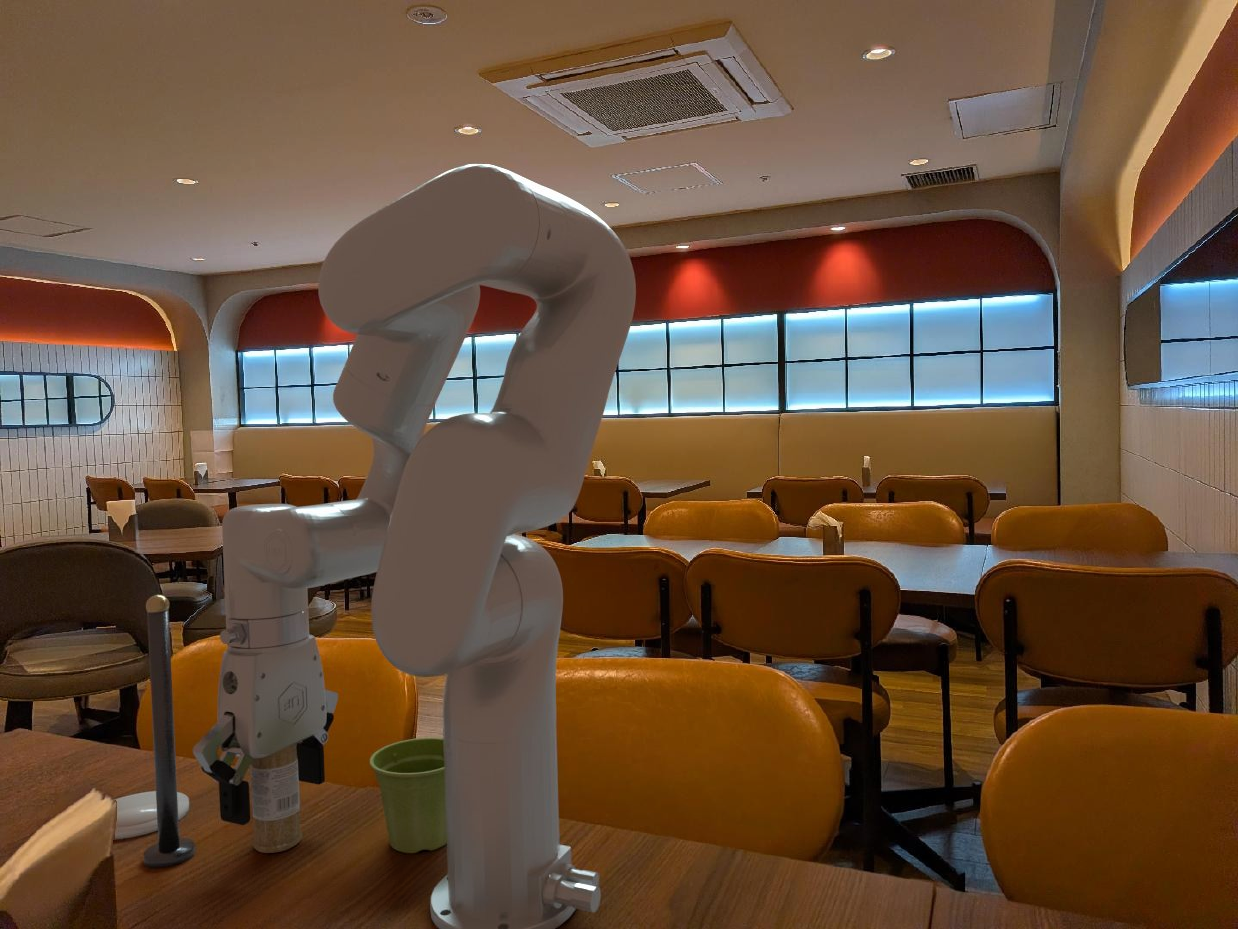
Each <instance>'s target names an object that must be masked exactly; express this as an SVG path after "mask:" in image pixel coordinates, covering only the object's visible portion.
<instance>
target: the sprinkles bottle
mask: <svg viewBox="0 0 1238 929" xmlns="http://www.w3.org/2000/svg"><path fill="white" fill-rule="evenodd" d="M296 746H297V744H294V745H291V746H289V747H287V748H285V749H283V750H280V751H278V752H276V753H274V754H271V755H269V756H267V757H264V758H253V760H252V762H251V764H250V766H249V768H250V783H251V784H250V788H251V789H250V790H251V791H250V792H251V810H252V818H253V819H252V820H253V838H254V840H253V843H252V844H253V848H254V849H255V851H258V853H263V854H270V853H271V854H274V853H279V852H281V853H282V852H284V851H287V850H289V849H292V848H293V847H294V846H296V845H298V843H300V842H301V839H302V837H303V835H302V831H301V826H300V824H301V823H300V822H301V821H300V807H301V806H300V805H301V804H300V802H301V801H300V781H299V776H298V759H297V750H296Z"/></svg>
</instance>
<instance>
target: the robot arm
mask: <svg viewBox="0 0 1238 929" xmlns="http://www.w3.org/2000/svg"><path fill="white" fill-rule="evenodd" d="M320 268H321V269H320V272H319V276H318V287H317V289H318V298H319V302H320V305H321V308H322V310H323V313H324V314H325V316H326V317H327V318H328V320H329V322H331V323H332V324H333V325H334V326H336V327H337V328H338V329H340V330H342V331H344V332H348V333H350V334H352V335H356V337H355V340H354V342H353V344H352V347H351V349H350V352H349V353H348V357H347V358H346V361H345V363H344V366H343V368H342V371H341V373H340V376H339V378H338V380H337V383H336V385H335V387H334V390H333V395H332V401H333V404H334V407H335V409H336V412H338V413H339V414H340V416H341V417H342V418H343V419H345V421H346V422H348V424H350V425H352V426H353V427H354V428H356V429H357V430H359V431H361V432H362V433H364V434H365V435H367V436H370V437H371V440H372V444H373V445H372V446H373V457H372V461H371V465H370V468H369V471H368V474H367V476H366V479H365V481H364V483H363V485H362V487H361V490H360V492H359V493H358V496H357V498H356V499H351V500H350V499H349V500H342V501H335V502H328V503H318V504H312V505H311V504H310V505H305V506H304V505H303V506H296V505H293V504H289V503H261V504H258V503H257V504H249V505H242V506H237V507H234V508H231V509H229V510H228V511H227V512H226V513H225V514H224V516H223V518H222V522H221V524H222V525H221V529H222V530H221V531H222V532H221V534H222V553H223V555H222V556H223V561H222V562H223V581H224V602H225V605H224V606H225V626H226V628H225V629H224V630H222V631H220V634H219V639H220V642H221V643H222V644H223V645H226V647H227V648H226V650H224V651H223V653H222V658H221V664H220V671H219V679H218V687H217V690H218V693H217V710H216V711H217V717H216V718H217V722H216V723H215V724H214V726H213V727H211V729H210V730H208V731H207V733H206V734H205V735H204V736H203V737H202V738H201V739H199V741H198V742H196V744H195V745H194V746H193V748H192V753H193V755H194V757H195V759H196V760H197V762H198V763H199V765H200V766H201V770H202V772H203V773H205V774H206V775H208V776H209V777H210V778H211V780H212V781H213V782H218V793H219V813H220V816H219V817H220V818H221V821H223V822H228V823H231V824H235V825H240V826H245V825H246V824H248V823H250V821H251V803H250V799H251V798H250V784H249V783H250V782H249V781H247V780H244V778H245V777H246V774H247V772H248V769H249V768H250V764H251V762H252V760H253V758H264V757H267V756H269V755H271V754H274V753H276V752H278V751H280V750H283V749H285V748H287V747H289V746H291V745H294V744H296V750H297V759H298V776H299V782H304V783H308V784H313V785H321V784H323V783H325V782H326V781H325V779H326V776H325V755H324V754H325V752H324V751H325V750H324V749H325V748H324V745H325V744H327V742H328V740H329V733H328V732H329V730H330V727H331V725H332V724H333V722H334V719H335V715H334V713H335V710H336V706H337V704H338V699H339V694H338V693H337V692H334V691H332V690H328V689H326V686H325V678H324V672H323V665H322V664H323V663H322V659H321V655H320V651H319V647H318V644H317V639H316V638H315V636H314V635H312V634H310V624H309V623H310V622H309V620H310V619H309V597H308V595H309V594H308V592H309V591H308V589H310V588H311V589H312V588H317V587H321V586H325V585H329V584H333V583H337V582H339V581H344V580H345V581H346V580H348V579H352V578H358V577H360V576H366V575H371V574H374V573H376V574H375V579H374V584H373V588H372V594H371V606H370V613H371V614H370V616H371V626H372V631H373V634H374V638H375V641H376V643H377V646H378V648H379V650H380V651H381V654H382V655H383V656H384V659H386V660H387V661H388V663H389V664H390V665H392V666H393V667H394V668H396V669H397V670H398V671H400V672H402V673H404V674H406V675H410V676H414V677H419V678H434V677H439V676H444V675H446V677H445V682H444V688H443V690H444V691H443V699H442V726H443V727H442V736H443V737H442V738H443V745H444V774H445V803H446V833H447V843H446V853H447V854H446V856H447V857H446V860H447V874H446V875H445V876H444V877H443V878H442V879H441V880H440V881H438V882H437V884H436V885H435V887H433V890H432V892H431V895H430V898H429V899H430V900H429V905H430V906H429V911H430V916H431V917H430V918H431V920H432V922H433V923H434V926H436V927H437V928H438V929H556V928H559V927H560V926H561V925H562V924H564V922H566V921H567V920H568V919H570V917H571V916H572V915H573V913H574V912H575V911H576V909H577V910H580V911H585V912H589V913H596V912H597V911H598V908H599V907H600V902H601V895H602V894H601V888H600V887H599V883H600V874H599V873H598V872H597V871H592V870H588V869H587V870H586V869H578V868H576V867H575V865H573V864H572V848H571V846H569V845H563V844H560V820H559V819H560V817H559V815H560V814H559V813H560V812H559V786H558V785H559V784H558V783H559V778H558V777H559V776H558V747H557V746H558V745H557V742H558V741H557V740H558V738H557V696H556V695H557V692H556V691H557V684H556V681H557V656H558V648H559V638H560V631H561V625H562V617H563V607H564V588H563V583H562V578H561V574H560V571H559V569H558V566H557V564H556V562H555V560H554V559H553V557H552V555H551V554H550V553H549V552H548V551H547V550H546V549H545V548H544V547H543V546H542V545H540V544H539V543H538V542H536V541H534V540H533V539H531V538H528V537H525V536H524V535H523V536H522V535H519V534H523V533H526V532H527V533H528V532H531V531H536V530H539V529H544V528H546V527H549V526H551V525H554V524H556V523H559V522H560V521H561V520H562V519H564V518H565V517H566V516H567V515H568V514H569V513H570V512H571V511H572V510H573V509H574V507H575V504H576V503H577V501H578V498H579V495H580V493H581V490H582V487H583V483H584V479H585V476H586V473H587V469H588V466H589V462H590V459H591V456H592V453H593V449H594V446H595V442H596V439H597V435H598V434H599V433H598V432H599V429H600V425H601V423H602V418H603V415H604V412H605V411H606V410H605V409H606V406H607V401H608V397H609V393H610V390H611V387H612V383H613V380H614V376H615V373H616V370H617V368H618V364H619V362H620V358H621V355H622V353H623V350H624V347H625V344H626V341H627V339H628V335H629V333H630V328H631V325H632V322H633V317H634V312H635V307H636V296H637V291H636V290H637V289H636V287H637V286H636V285H637V284H636V277H635V276H636V275H635V271H634V267H633V264H632V260H631V258H630V255H629V252H628V251H627V249H626V247H625V245H624V244H623V242H622V241H621V239H620V238H619V237H618V235H617V234H616V232H615V231H614V230H613V228H611V227H610V226H609V225H608V223H606V221H604V220H603V218H600V217H599V216H598V215H597V214H596V213H595V212H593V211H592V210H590V209H589V208H587V207H586V206H584V205H582V204H581V203H580V202H577V201H576V200H574V199H572V198H570V197H568V196H567V195H565V194H562V193H560V192H557V191H556V190H554V189H551V188H550V187H549V188H548V187H546V186H544V185H542V184H539V183H536V182H534V181H532V180H530V179H528V178H526V177H523V176H522V175H519V174H517V173H515V172H512V171H510V170H508V169H505V168H502V167H500V166H496V165H493V164H486V163H485V164H482V163H478V164H477V163H471V164H466V165H462V166H459V167H455V168H453V169H450V170H447V171H445V172H443V173H441V174H439V175H438V176H436V177H433V178H431V179H430V180H428V181H427V182H425V183H423V184H421V185H420V186H418V187H416V188H415V189H412V190H410V191H409V192H407V193H405V194H404V195H402V196H401V197H399V198H397V199H395V200H394V201H391V202H390V203H388V204H386V205H384V206H383V207H381V208H380V209H378V210H376V211H374V212H373V213H371V214H369V215H367V217H365V218H363V219H361V221H359V222H358V223H356V224H355V225H353V226H352V227H351V228H349V229H348V230H347V231H346V232H345V233H343V235H342V236H340V238H339V239H338V240H337V241H336V242H334V244H333V246H332V247H331V248H330V250H329V251H328V253H327V255H326V256H325V258H324V260H323V262H322V265H321V267H320ZM481 286H483V287H486V288H487V287H488V288H493V289H496V290H500V291H505V292H509V293H514V294H520V295H523V296H527V297H530V298H531V299H533V300H534V301H535V304H536V310H535V312H534V313H533V315H532V317H531V318H530V319H529V320H528V322H527V323H526V324H525V326H524V327H523V329H522V330H521V332H520V334H519V335H518V337H517V339H516V340H515V342H514V344H513V345H512V349H511V351H510V353H509V355H508V359H507V361H506V366H505V369H504V370H505V371H504V375H503V379H502V382H501V386H500V388H499V391H498V395H497V397H496V400H495V402H494V405H493V407H492V409H491V410H490V412H473V413H472V412H470V413H463V414H462V413H461V414H457V415H454V416H450V417H447V418H446V419H443V420H442V421H440V422H438V423H436V425H434V426H433V427H431V428H430V429H429V430H428V431H427V432H426V433H425V429H426V427H427V424H428V422H429V420H430V418H431V415H432V412H433V410H434V409H435V406H436V404H437V401H438V398H439V397H440V394H441V392H442V390H443V387H444V386H445V384H446V381H447V379H448V378H449V377H448V376H449V374H450V372H451V371H452V368H453V366H454V364H455V362H456V359H457V357H458V355H459V353H460V350H461V348H462V345H463V343H464V341H465V339H466V337H467V334H468V332H469V330H470V328H471V326H472V324H473V323H474V319H475V316H476V314H477V311H478V308H479V304H480V300H481V288H480V287H481ZM219 748H220V750H221V751H222V753H221V755H220V756H219V753H218V752H219V751H218V750H219ZM237 757H238V759H237V760H236V762H235V765H234V766H233V767H232V764H233V763H234V761H235V759H236V758H237Z"/></svg>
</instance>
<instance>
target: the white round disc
mask: <svg viewBox="0 0 1238 929" xmlns="http://www.w3.org/2000/svg"><path fill="white" fill-rule="evenodd" d="M114 800H116V801H117V822H116V830H115V839H114V840H123V839H124V838H125V839H131V838H136V837H140V836H144V835H147V834H151V833H154V832H158V825H157V804H156V790H153V791H145V792H139V793H134V794H130V795H126V796H122V797H118V798H115V799H114ZM177 800H178V821H180V820H182V819H183V818H184V817H185V816H186V815H187V814H188V813H189V811H190V798H189V797H188V796H187V795H186V794H184V793H182V792H179V791H177Z"/></svg>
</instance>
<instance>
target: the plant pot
mask: <svg viewBox="0 0 1238 929" xmlns="http://www.w3.org/2000/svg"><path fill="white" fill-rule="evenodd" d="M369 765H370V766H369V767H370V768H371V769H372V770H373V771H374V774H375V779H376V782H378V785H379V790H380V794H381V800H382V806H383V812H384V818H385V824H386V831H387V836H388V840H389V844H390V846H391V848H392V849H394V850H395V851H398V852H401V853H405V854H416V853H418V852H420V851H423V850H424V851H425V850H426V851H427V850H428V851H434V850H437V849H440V848H441V847H443V846H445V845H447V833H446V803H445V774H444V745H443V737H418V738H411V739H405V740H401V741H397V742H394V743H391V744H388V745H385V746H384V747H381V748H379V749H378V750H376V751H375V752H374V753H373V754H372V755H371V757H370V758H369Z"/></svg>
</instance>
